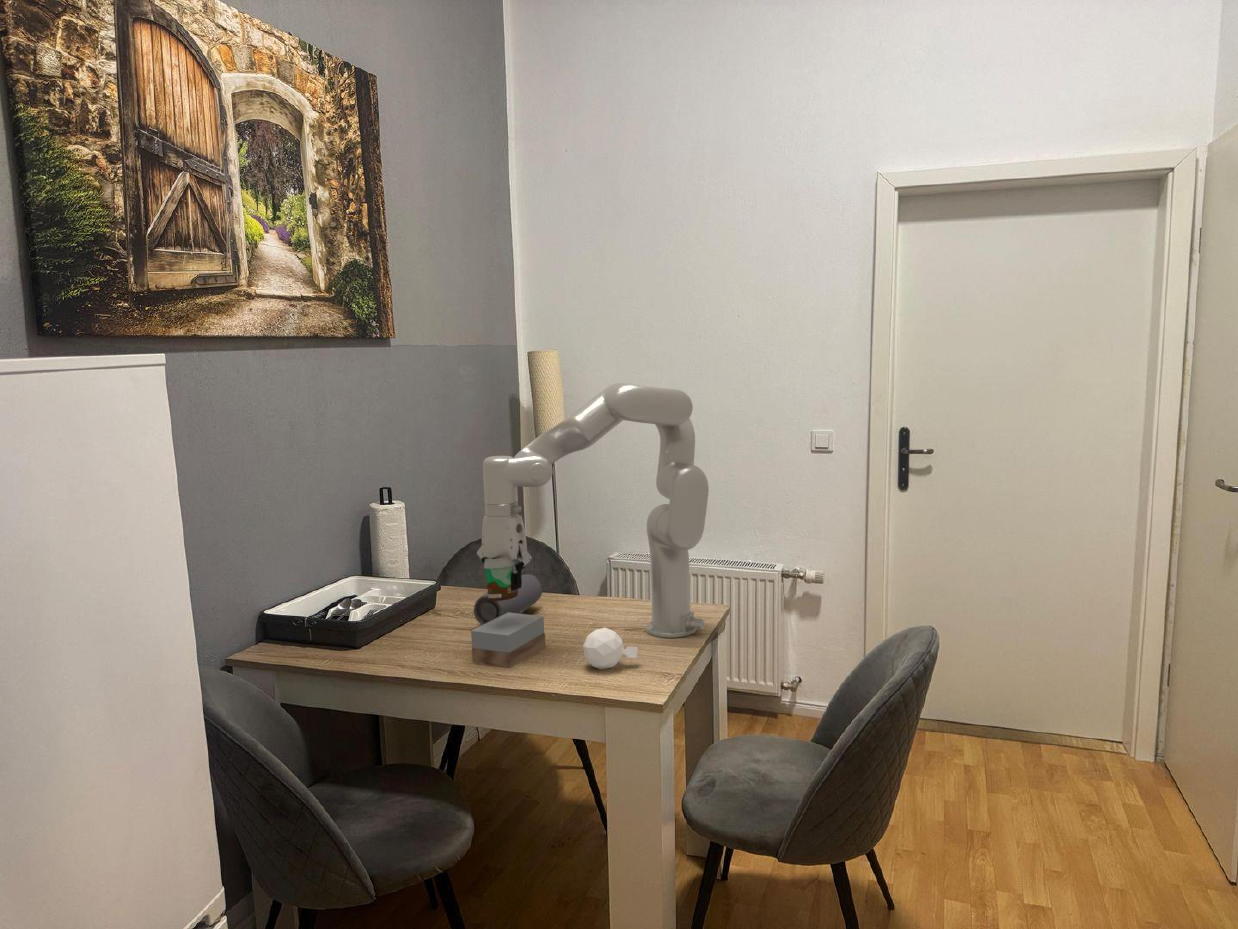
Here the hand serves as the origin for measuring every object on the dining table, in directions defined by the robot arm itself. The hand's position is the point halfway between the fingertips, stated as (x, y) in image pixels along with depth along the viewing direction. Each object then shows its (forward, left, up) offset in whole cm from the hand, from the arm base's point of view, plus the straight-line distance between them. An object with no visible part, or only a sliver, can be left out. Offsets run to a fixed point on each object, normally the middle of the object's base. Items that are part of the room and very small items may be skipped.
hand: (505, 586), depth 198 cm
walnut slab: (0, 0, -17) cm, 17 cm away
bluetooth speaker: (+17, -22, -17) cm, 32 cm away
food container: (-1, 0, -2) cm, 3 cm away
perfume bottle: (-26, -3, -16) cm, 31 cm away
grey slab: (0, 0, -13) cm, 13 cm away
